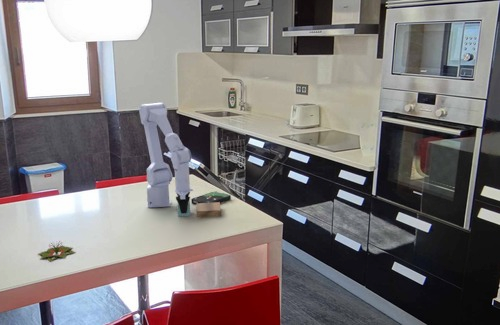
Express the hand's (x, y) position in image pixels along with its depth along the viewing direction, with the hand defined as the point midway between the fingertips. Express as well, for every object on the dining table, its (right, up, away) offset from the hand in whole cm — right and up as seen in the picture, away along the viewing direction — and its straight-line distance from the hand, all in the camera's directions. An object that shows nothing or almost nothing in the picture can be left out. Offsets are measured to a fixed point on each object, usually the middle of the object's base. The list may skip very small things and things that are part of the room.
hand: (184, 210), depth 187 cm
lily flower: (-38, -11, -34) cm, 52 cm away
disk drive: (+10, +2, +15) cm, 18 cm away
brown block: (+10, -1, +2) cm, 10 cm away
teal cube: (0, -1, 0) cm, 2 cm away
